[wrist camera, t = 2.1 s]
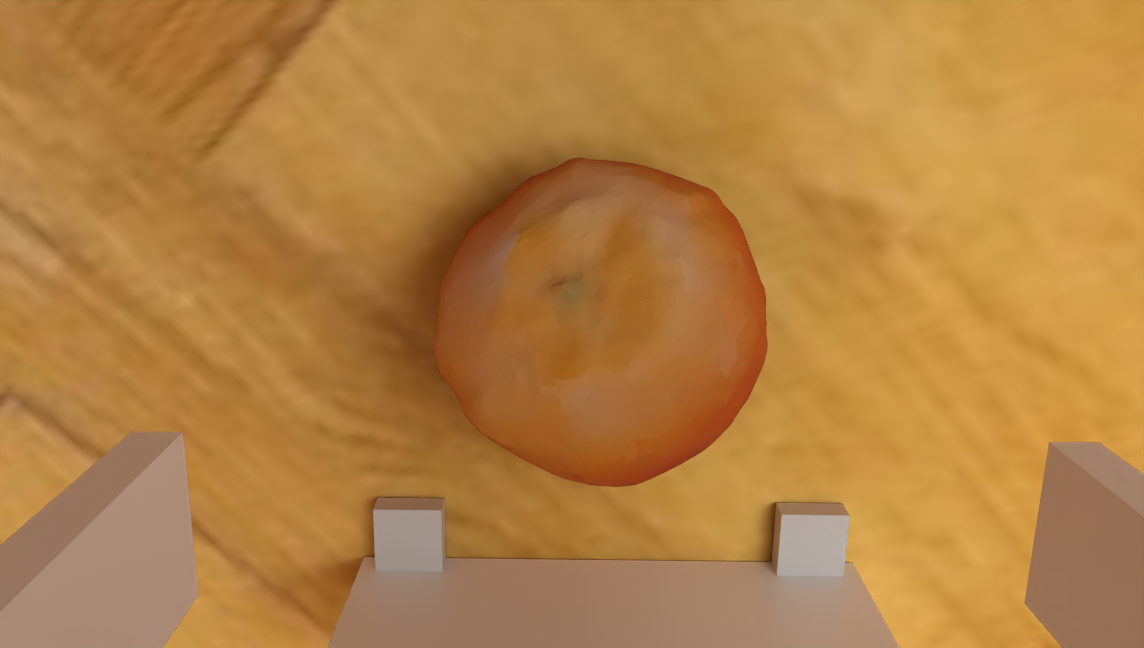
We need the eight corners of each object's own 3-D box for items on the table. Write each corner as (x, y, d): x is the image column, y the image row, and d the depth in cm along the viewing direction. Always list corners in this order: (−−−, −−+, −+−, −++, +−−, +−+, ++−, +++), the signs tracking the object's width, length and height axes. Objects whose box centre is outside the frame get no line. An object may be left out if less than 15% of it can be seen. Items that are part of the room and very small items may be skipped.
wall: (361, 497, 29) (311, 606, 24) (859, 503, 30) (929, 614, 24) (367, 642, 31) (322, 779, 25) (844, 648, 31) (907, 786, 25)
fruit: (564, 539, 28) (475, 538, 21) (467, 301, 31) (356, 221, 23) (822, 423, 27) (828, 377, 20) (703, 186, 30) (667, 63, 22)
